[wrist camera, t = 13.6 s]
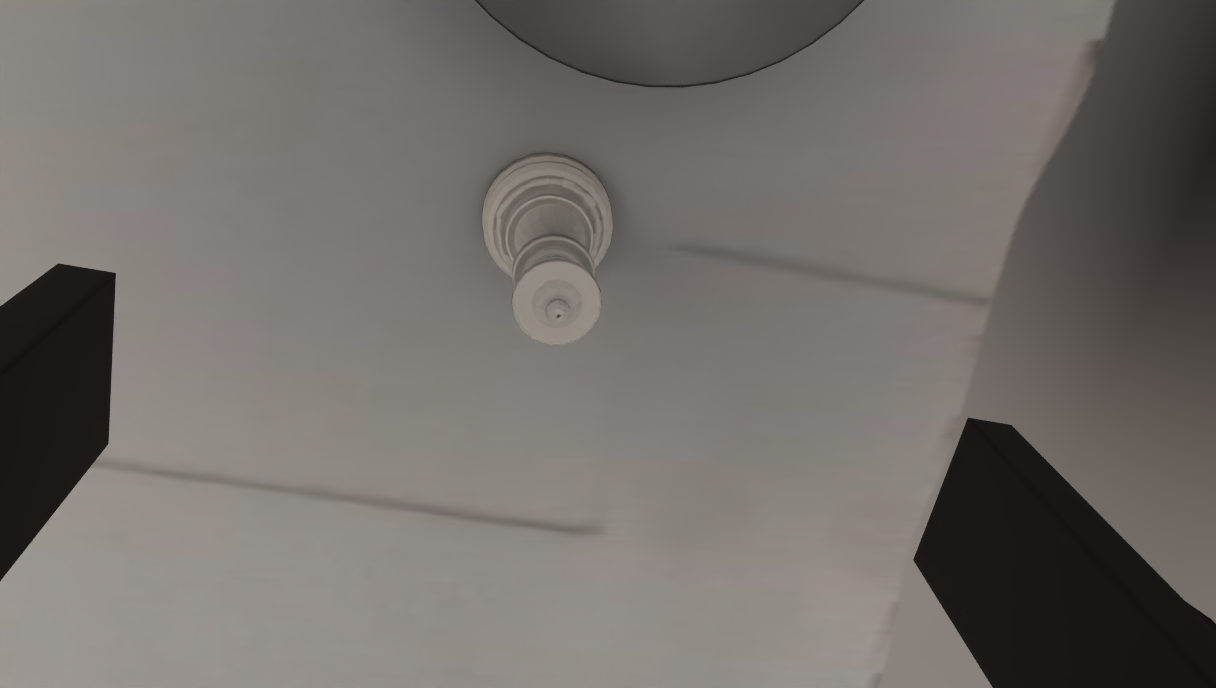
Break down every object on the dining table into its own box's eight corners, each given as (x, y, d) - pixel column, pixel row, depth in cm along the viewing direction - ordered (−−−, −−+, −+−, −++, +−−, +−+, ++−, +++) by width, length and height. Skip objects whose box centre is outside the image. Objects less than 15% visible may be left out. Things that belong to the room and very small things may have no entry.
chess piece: (634, 193, 35) (677, 285, 26) (568, 298, 36) (587, 422, 27) (523, 126, 34) (526, 198, 24) (459, 237, 35) (439, 345, 26)
